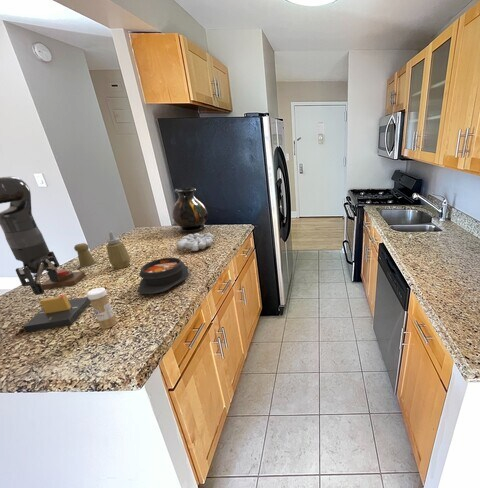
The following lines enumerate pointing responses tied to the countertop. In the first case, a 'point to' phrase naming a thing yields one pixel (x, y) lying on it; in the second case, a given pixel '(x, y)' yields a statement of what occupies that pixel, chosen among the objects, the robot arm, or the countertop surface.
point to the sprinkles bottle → (102, 307)
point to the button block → (64, 280)
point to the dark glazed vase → (189, 211)
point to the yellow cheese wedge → (55, 304)
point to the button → (62, 272)
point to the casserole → (162, 275)
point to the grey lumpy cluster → (195, 241)
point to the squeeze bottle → (117, 252)
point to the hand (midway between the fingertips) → (48, 287)
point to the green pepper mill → (84, 255)
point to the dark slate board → (57, 316)
